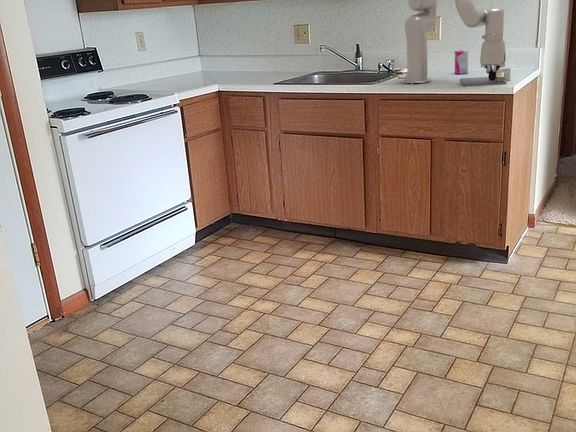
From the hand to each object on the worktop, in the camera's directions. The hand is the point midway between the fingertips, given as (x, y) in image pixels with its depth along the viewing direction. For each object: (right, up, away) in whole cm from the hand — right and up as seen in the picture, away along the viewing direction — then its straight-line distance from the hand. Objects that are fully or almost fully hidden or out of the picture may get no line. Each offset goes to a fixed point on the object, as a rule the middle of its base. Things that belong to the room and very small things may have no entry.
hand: (492, 80), depth 276 cm
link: (+5, +2, +6) cm, 8 cm away
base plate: (-2, +1, +8) cm, 8 cm away
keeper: (+5, +1, +6) cm, 8 cm away
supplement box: (-3, +12, +40) cm, 42 cm away
